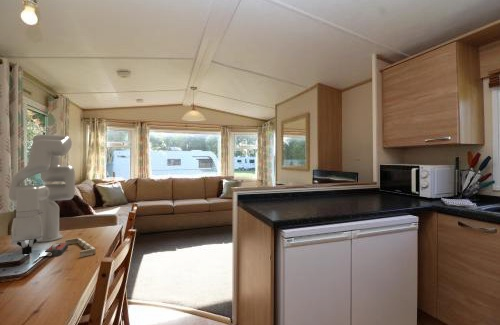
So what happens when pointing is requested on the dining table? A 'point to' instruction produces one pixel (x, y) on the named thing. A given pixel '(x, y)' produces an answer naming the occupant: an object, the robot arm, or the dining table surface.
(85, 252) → the beige segmented bracket
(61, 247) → the walkie-talkie
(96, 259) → the dining table surface
